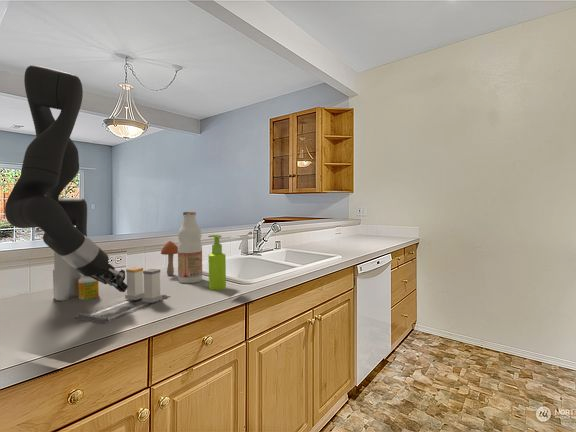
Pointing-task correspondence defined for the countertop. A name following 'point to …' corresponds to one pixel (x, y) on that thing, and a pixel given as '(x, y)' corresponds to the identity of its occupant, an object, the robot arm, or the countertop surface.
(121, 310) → the grey flat plate
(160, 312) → the countertop surface
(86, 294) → the supplement bottle
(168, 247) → the mushroom
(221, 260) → the soap dispenser
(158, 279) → the block
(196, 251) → the fruit juice
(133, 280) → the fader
